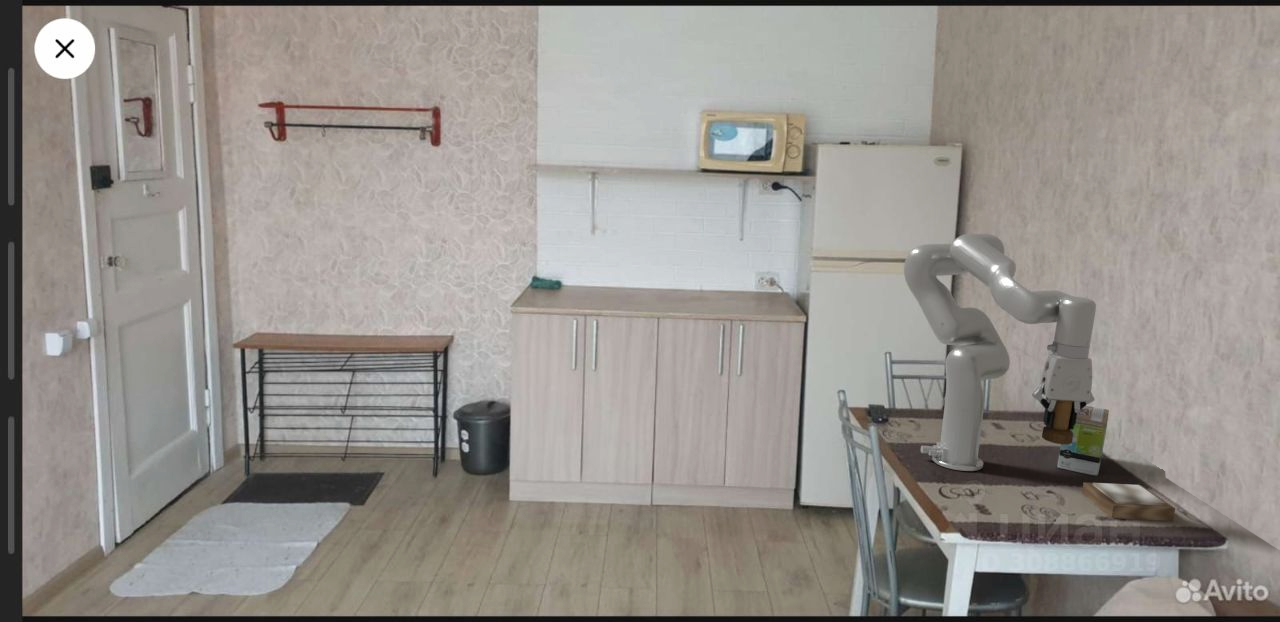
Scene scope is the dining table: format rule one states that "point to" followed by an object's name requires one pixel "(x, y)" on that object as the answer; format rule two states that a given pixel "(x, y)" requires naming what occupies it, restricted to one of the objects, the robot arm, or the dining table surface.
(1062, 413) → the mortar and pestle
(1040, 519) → the dining table surface
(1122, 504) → the plinth
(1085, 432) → the tea box
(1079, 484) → the dining table surface
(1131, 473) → the dining table surface
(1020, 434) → the dining table surface
